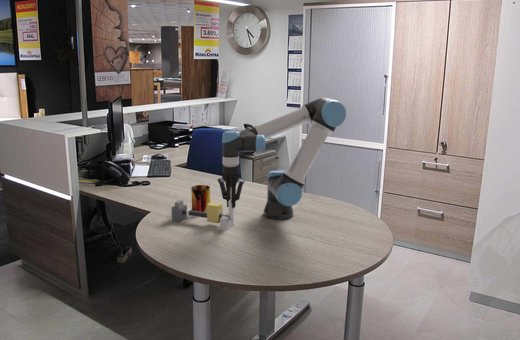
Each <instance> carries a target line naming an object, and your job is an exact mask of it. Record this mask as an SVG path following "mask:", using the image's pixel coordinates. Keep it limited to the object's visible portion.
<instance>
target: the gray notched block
mask: <svg viewBox="0 0 520 340" xmlns="http://www.w3.org/2000/svg"><path fill="white" fill-rule="evenodd" d="M225 215H227V216H229V220H228V217H224V216H222V218H220V222H219V229H220V231H225V232H227V231H228V230H229V229H231V228H232V227H233V226H234V225H235V224H234V223H235V221H234V220H235V219H234V214H232V215H229V212H227V213H225Z"/></svg>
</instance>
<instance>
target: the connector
mask: <svg viewBox="0 0 520 340" xmlns="http://www.w3.org/2000/svg"><path fill="white" fill-rule="evenodd" d="M184 209H188V205H187V204H184V200H181V199H178V200H177V201H175V202H174V205H173V206H172V207H171V221H172V222H175V223H176V222H177V223H182V222H185V220H187V219H188V217H187V215H184V214H183V210H184Z"/></svg>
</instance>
